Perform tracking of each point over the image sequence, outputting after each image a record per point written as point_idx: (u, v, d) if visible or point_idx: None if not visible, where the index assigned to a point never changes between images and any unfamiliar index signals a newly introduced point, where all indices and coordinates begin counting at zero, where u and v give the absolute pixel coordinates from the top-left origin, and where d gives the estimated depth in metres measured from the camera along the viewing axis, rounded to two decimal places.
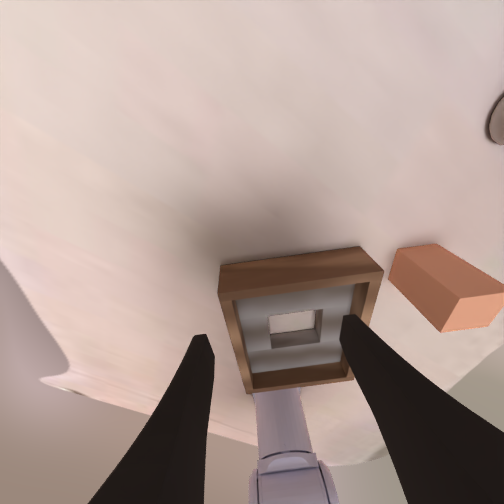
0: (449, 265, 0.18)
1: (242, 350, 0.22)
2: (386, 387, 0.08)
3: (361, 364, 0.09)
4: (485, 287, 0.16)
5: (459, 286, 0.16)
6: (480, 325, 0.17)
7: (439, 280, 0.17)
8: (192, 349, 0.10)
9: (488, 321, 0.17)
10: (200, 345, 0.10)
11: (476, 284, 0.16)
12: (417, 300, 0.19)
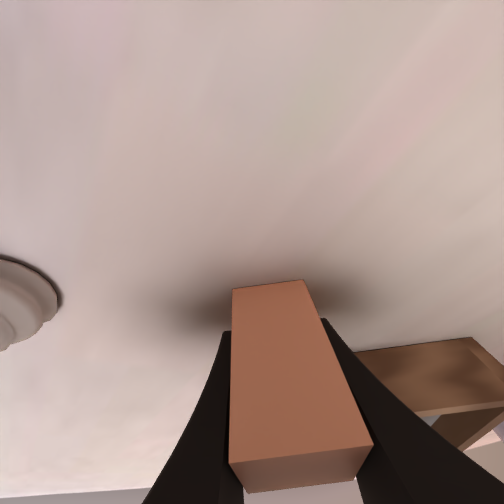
0: None
1: None
2: None
3: None
4: None
5: None
6: (358, 455, 0.06)
7: None
8: (225, 345, 0.10)
9: (347, 450, 0.06)
10: None
11: None
12: None
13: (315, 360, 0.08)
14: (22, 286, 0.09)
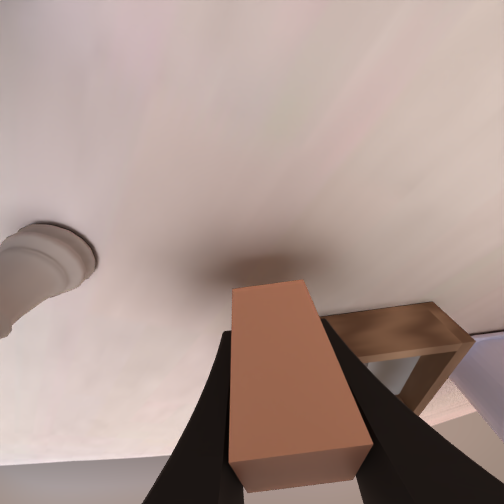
0: None
1: None
2: None
3: None
4: None
5: None
6: (358, 454, 0.06)
7: None
8: (225, 345, 0.10)
9: (347, 450, 0.06)
10: None
11: None
12: None
13: (315, 360, 0.08)
14: (72, 246, 0.12)
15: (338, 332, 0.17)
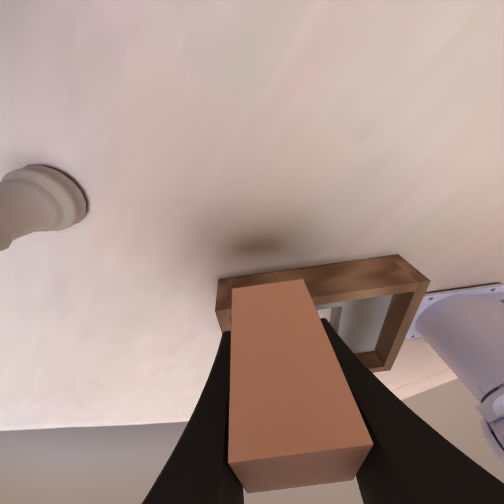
0: None
1: None
2: None
3: None
4: None
5: None
6: (358, 454, 0.06)
7: None
8: (225, 345, 0.10)
9: (347, 450, 0.06)
10: None
11: None
12: None
13: (315, 360, 0.08)
14: (65, 186, 0.14)
15: (309, 279, 0.19)
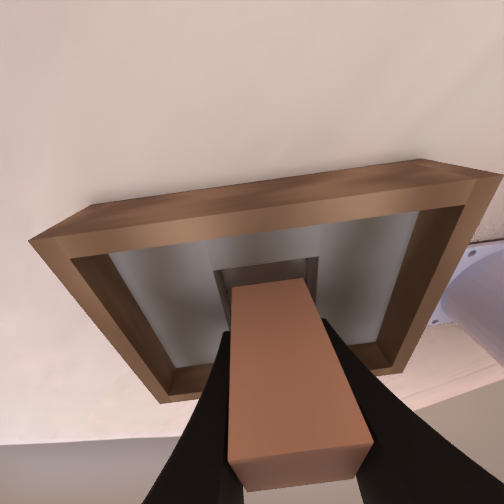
0: None
1: None
2: None
3: None
4: None
5: None
6: (359, 452, 0.06)
7: None
8: (225, 345, 0.10)
9: (348, 448, 0.06)
10: None
11: None
12: None
13: (315, 358, 0.08)
14: None
15: (249, 192, 0.10)
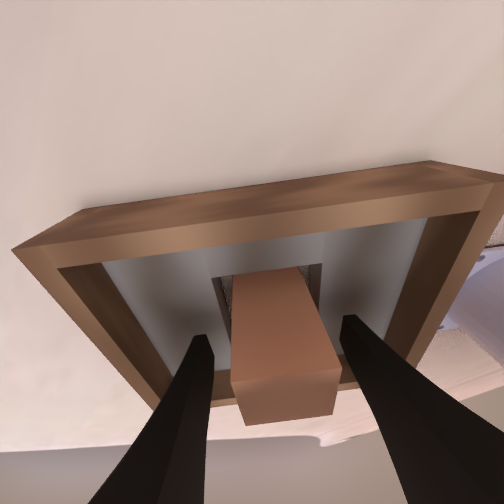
0: None
1: None
2: (386, 387, 0.08)
3: (361, 364, 0.09)
4: None
5: None
6: (332, 380, 0.08)
7: None
8: (192, 349, 0.10)
9: (322, 374, 0.07)
10: (200, 345, 0.10)
11: None
12: None
13: (301, 315, 0.09)
14: None
15: (249, 196, 0.09)
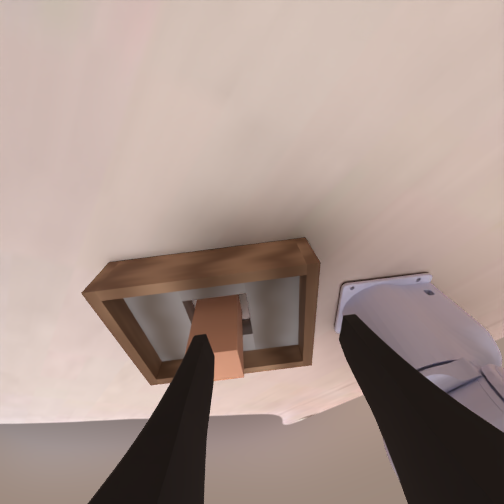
0: None
1: None
2: (386, 387, 0.08)
3: (361, 364, 0.09)
4: None
5: None
6: (235, 356, 0.16)
7: None
8: (192, 349, 0.10)
9: (228, 353, 0.16)
10: (200, 345, 0.10)
11: None
12: None
13: (227, 324, 0.18)
14: None
15: (199, 261, 0.17)
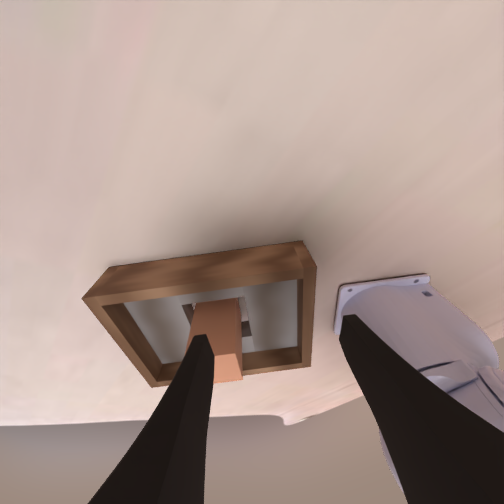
0: None
1: None
2: (386, 387, 0.08)
3: (361, 364, 0.09)
4: None
5: None
6: (233, 359, 0.16)
7: None
8: (192, 349, 0.10)
9: (227, 356, 0.16)
10: (200, 345, 0.10)
11: None
12: None
13: (226, 327, 0.18)
14: None
15: (198, 265, 0.17)
